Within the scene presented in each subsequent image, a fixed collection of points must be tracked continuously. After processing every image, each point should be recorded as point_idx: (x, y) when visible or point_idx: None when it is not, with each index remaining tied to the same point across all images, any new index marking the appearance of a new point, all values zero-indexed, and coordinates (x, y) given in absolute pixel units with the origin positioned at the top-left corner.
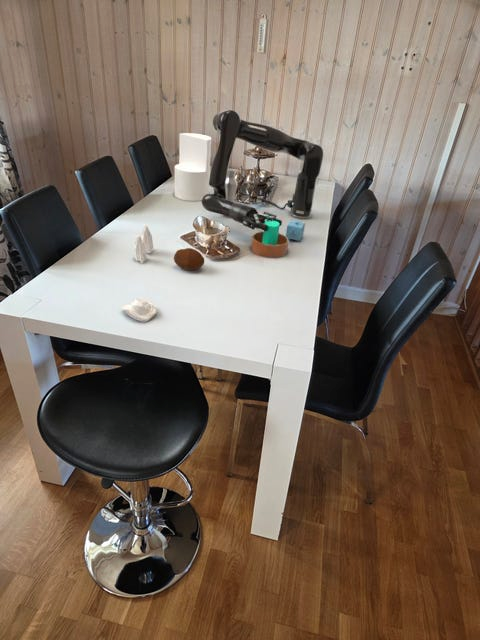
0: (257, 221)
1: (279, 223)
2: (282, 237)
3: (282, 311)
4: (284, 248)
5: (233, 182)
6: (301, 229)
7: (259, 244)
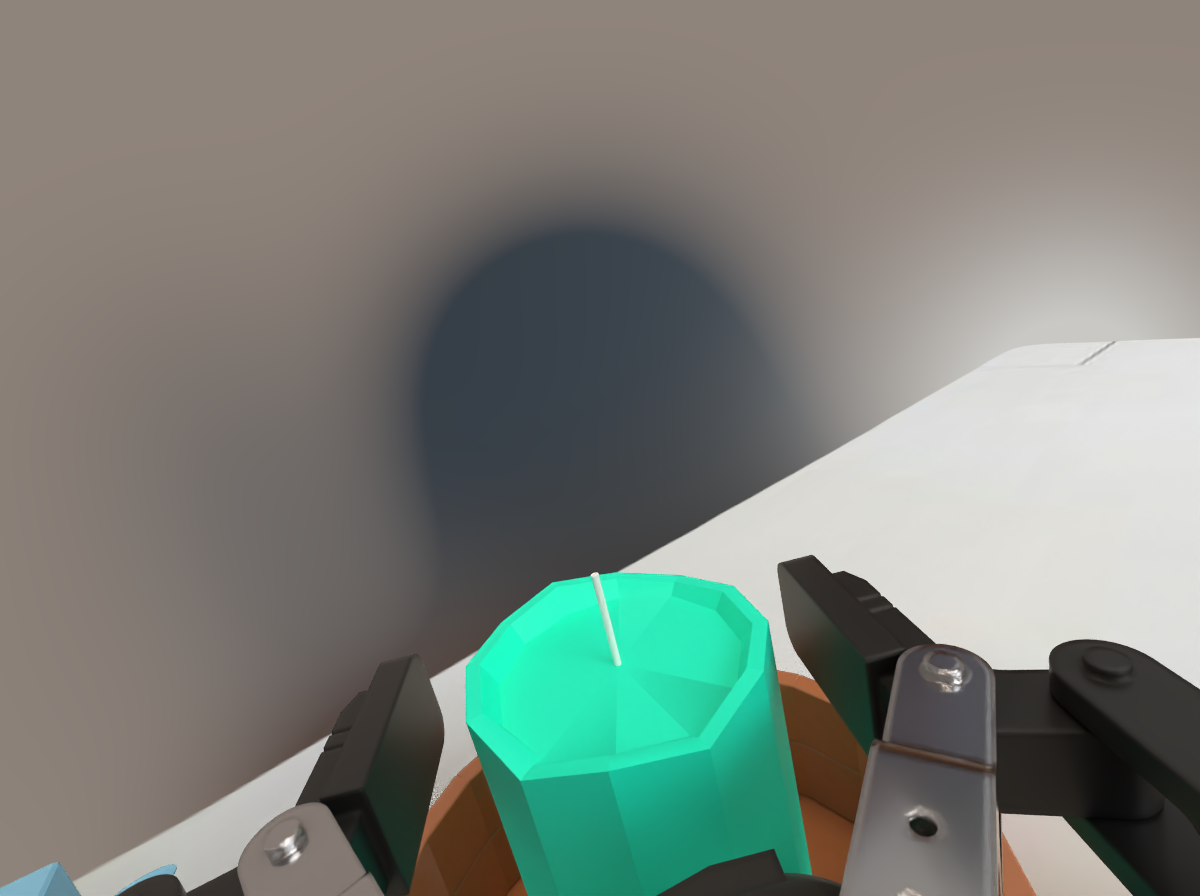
0: (949, 713)
1: (506, 620)
2: None
3: (1008, 424)
4: None
5: None
6: (58, 881)
7: None
